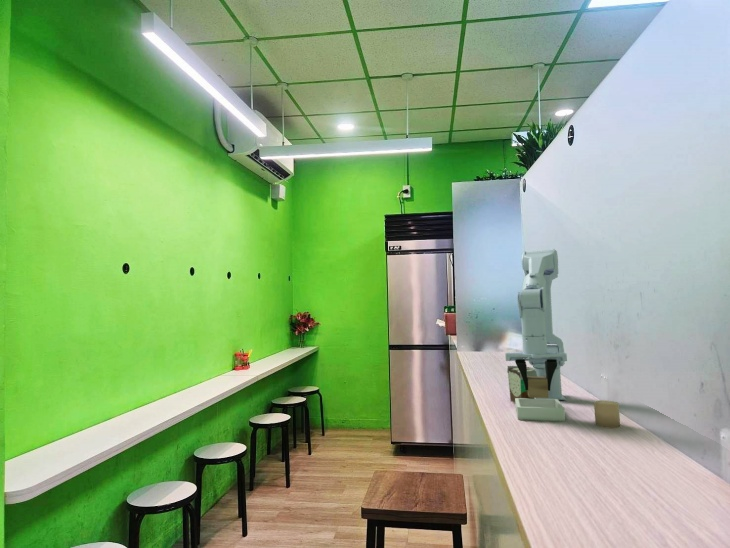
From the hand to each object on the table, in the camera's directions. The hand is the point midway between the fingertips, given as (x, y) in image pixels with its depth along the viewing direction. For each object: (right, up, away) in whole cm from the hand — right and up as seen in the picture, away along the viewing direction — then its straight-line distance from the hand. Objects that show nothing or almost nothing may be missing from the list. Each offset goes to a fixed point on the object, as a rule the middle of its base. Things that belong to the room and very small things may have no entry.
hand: (537, 389), depth 111 cm
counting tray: (0, -6, 0) cm, 6 cm away
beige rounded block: (+12, -5, -11) cm, 17 cm away
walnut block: (0, -2, 0) cm, 2 cm away
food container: (+2, -7, +12) cm, 14 cm away
